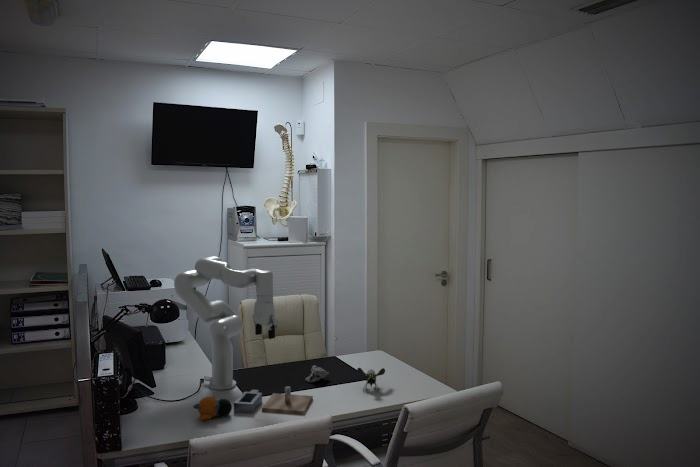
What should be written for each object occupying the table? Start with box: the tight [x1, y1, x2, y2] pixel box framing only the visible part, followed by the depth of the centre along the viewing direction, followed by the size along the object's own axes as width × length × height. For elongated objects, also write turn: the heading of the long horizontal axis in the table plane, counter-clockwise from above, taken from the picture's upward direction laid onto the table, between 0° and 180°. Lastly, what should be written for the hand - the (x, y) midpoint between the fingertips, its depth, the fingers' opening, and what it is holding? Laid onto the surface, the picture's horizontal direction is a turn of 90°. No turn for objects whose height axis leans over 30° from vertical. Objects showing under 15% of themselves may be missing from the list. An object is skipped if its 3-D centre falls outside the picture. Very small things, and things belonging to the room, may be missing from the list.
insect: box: [356, 367, 386, 393], centre depth 263 cm, size 13×16×10 cm
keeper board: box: [261, 386, 314, 415], centre depth 244 cm, size 18×17×8 cm
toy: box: [193, 395, 233, 422], centre depth 230 cm, size 12×10×15 cm
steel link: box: [233, 389, 263, 415], centre depth 243 cm, size 16×8×4 cm, turn 171°
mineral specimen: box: [305, 365, 330, 383], centre depth 275 cm, size 10×8×10 cm
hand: (265, 336), depth 254 cm, fingers open, 9 cm apart
